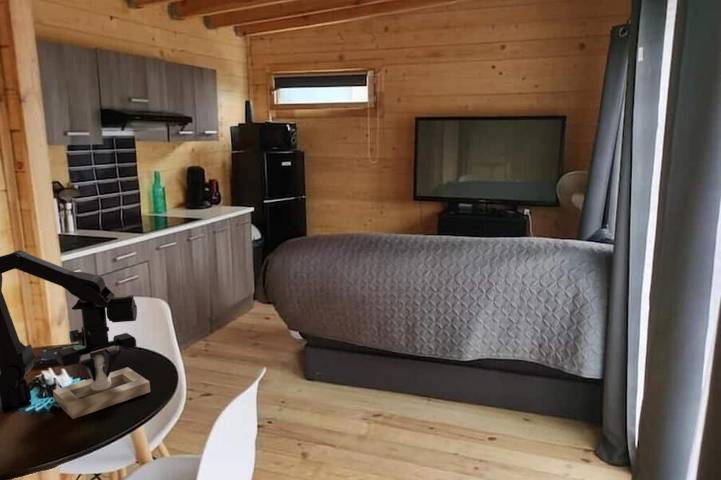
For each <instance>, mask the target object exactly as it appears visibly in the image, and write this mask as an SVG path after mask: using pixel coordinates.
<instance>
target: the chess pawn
mask: <svg viewBox="0 0 721 480" xmlns="http://www.w3.org/2000/svg"><path fill="white" fill-rule="evenodd" d="M92 359H93V360H94V366H95V374H96V381H93V380H92V381H91V383H90V384H91V389H92V390H103V391H105V390H104V389H106V390H108V389H107V388H109V387H110V386H111V379H110V378H109V377H107V376H106V373H105V371H104V366H105V364H104V355H102V354H96V355H94V356H93V358H92ZM109 389H110V388H109Z"/></svg>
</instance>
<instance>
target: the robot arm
mask: <svg viewBox="0 0 721 480" xmlns="http://www.w3.org/2000/svg"><path fill="white" fill-rule="evenodd" d="M12 270H18V271H21V272H23V273H26V274H29V275H31V276H34V277H36V278H39V279H41V280H44V281H46V282H50V283H52V284H54V285H57V286H59V287H61V288H63V289H65V290H66V291H67V292H68V293H70V295H72V296H74V297H75V298H77V299H78V300H77V301H76V303H75V304H74V305H73V306H72V307H71V310H73V311H75V310H76V311H77V310H78V311H79V310H80V312H81V320H82V321H81V322H82V326H81V332H79V331H80V330H79V329H74V330H70V331H69V332H68V333H69V340H70V343H72V344H73V343H77V342H78V345H80V344H81V345H82V346H85V348H83V349H79V350H76V349H74V348H73V347H70V348H66V349H62V350H58V352H57V353H56V360H57V361H58V362H59V363H60V365H61V366H62V367H69V366H72V365H76V364H81V365H83V366H84V367H85V369H86V371H87V372H88V375H89V376H90V379H91V378H92V380H93V381H96V368H95V366H94V365H95V364H94V360H93V358H91V355H92V354H93V355H94V354H95V353H99V352H102V353H103V357H104V362H103V363H104V364H105V366H104V367H103V371H104V373H106V376H107V377H108V376H109V374H110V373H111V372H112V368H113V366H114V363H115V361H116V359H117V358H118V356H119V355H121V354H122V351H121V350H119V349H120V347H121V348H123V349H125V350H130V349H133V348H136V347H137V339H136V337H135V336H133V335H131V334H130V333H127V332H123V333H121V334H117V335H114V336H113V337H112V338H113V339H112V340H109V332H110V327H108V322H107V320H109V322H111V323H113V324H114V323H125V322H126V323H127V322H136V321H137V317H138V306H137V304H136V300H135V297H134V295H126V296H116V295H115V294H114V293H113V292H112V290H110V289H109V287H108V286H106V283H105V281H104V278H103V277H101V276H100V275H96V274H92V273H88V272H85V271H84V272H83V271H74V270H70V269H67V268H65V267H62V266H59V265H57V264H55V263H52V262H51V261H50V262H49V261H47V260H45V259H42V258H39V257H37V256H34V255H32V254H29V253H27V252H26V251H24V250H20V249H19V250H15V251H13V252H11V253H9V254H4V255H0V411H1V412H2V413H3V414H6V413H10V412H12V411H16V410H19V409H22V408H24V407H28V406H31V405H32V403H33V402H32V401H31V400H32V395H31V394H32V392H31V386H30V384H29V383H28V382H27V381H28V380H27V379H25V377H27V376H28V374H29V372H30V371H31V370H32V369H33V367H34V365H35V360H36V359H37V356H36V355H35V354H34V352H33V347H32V345H31V344H28V345H24V344H23V343H22V342H21V340H20V339H19V336H18V332H17V329H16V326H15V324H14V322H13V321H14V320H13V319H12V316H11V313H10V311H9V308H8V305H7V302H6V299H5V296H4V294H3V289H2V286H3V274H4V273H7V272H9V271H12Z"/></svg>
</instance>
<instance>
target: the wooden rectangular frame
mask: <svg viewBox="0 0 721 480" xmlns="http://www.w3.org/2000/svg"><path fill="white" fill-rule="evenodd" d="M108 377H109V378H110V379H111V386H110V387H109V388H107V389H104V390H92V389H91V384H90V383H91V381H92V378H91V377H90V378H88V379H84V380H82V381H78V382H75V383H72V384H70V385H69V384H68V385H65V386H63V387H59V388H56V389H53V390H52V394H53V395H52V396H53V401H54V400H55V401H56V402H57V403H58V404H59V405H60V406H59V405H58V404H57V403H56V402H55V401H54V402H55V403H56V404H57V405H58V406H59V407H60V408H61V409H62V410H63V411H64V412H65V413H66V414H67V416H69V417H70V418H71V419H72V420H74V419H76V418H79V417H83V416H85V415H88V414H91V413H95V412H97V411H100V410H103V409H106V408H109V407H111V406H114V405H117V404H120V403H122V402H126V401H128V400H129V401H130V400H131V399H134V398H137V397H139V396H144V395H146V394H148V393H151V384H150V383H151V382H150V380H148V379H146V378H145V377H143V376H142V375H141V374H139V373H137V372H136V371H134V370H133V369H131V368H130V367H128V366H127V367H124V368H121V369H120V368H119V369H118V370H115V371H110V374H109V376H108ZM81 397H82V398H81ZM78 398H79V399H78Z"/></svg>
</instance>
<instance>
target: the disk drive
mask: <svg viewBox="0 0 721 480" xmlns="http://www.w3.org/2000/svg"><path fill="white" fill-rule="evenodd" d="M70 347H73V348H74V349H76V350H79V349H83V348H85V346H82V345H81V344H80V345H79V344H74V345H66V346H58V347H52V348H44V349H40V350H39V351H38V354H37V356H36V358H35V360H34V365H35V369H39V368H40V369H41V368H46V367H51V366H53V367H54V366H58V365H59V366H60V365H61V364H60V363H59V362H58V361H57V360H56V353H57V352H58V350H62V349H66V348H70Z"/></svg>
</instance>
